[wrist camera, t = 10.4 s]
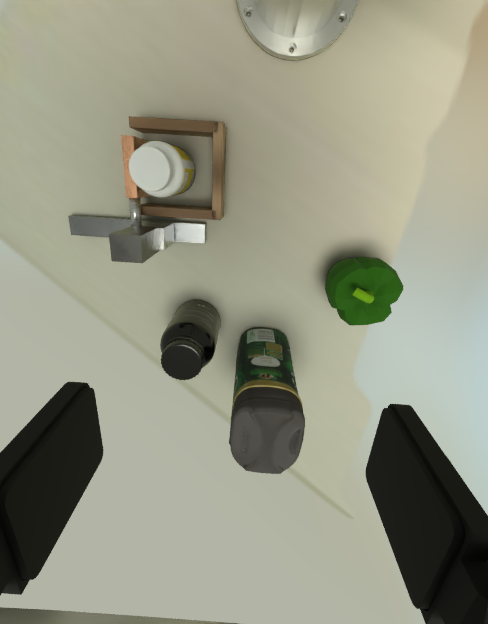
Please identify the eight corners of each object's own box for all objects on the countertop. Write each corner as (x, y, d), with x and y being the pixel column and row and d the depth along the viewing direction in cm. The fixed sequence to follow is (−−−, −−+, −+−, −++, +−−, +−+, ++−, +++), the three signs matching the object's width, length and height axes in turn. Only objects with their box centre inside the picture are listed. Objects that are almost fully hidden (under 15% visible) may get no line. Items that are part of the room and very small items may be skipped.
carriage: (139, 141, 37) (90, 124, 26) (174, 143, 37) (139, 127, 26) (146, 239, 42) (105, 260, 31) (176, 241, 42) (147, 263, 31)
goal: (141, 122, 37) (128, 116, 33) (226, 127, 37) (222, 122, 33) (146, 211, 41) (135, 214, 37) (223, 216, 41) (220, 220, 37)
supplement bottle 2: (212, 346, 48) (199, 396, 37) (169, 331, 48) (143, 377, 36) (228, 308, 46) (219, 349, 35) (183, 291, 45) (159, 327, 34)
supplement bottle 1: (146, 151, 38) (113, 142, 29) (189, 142, 38) (169, 130, 29) (159, 198, 40) (131, 203, 31) (200, 190, 40) (184, 193, 31)
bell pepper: (392, 281, 43) (429, 309, 34) (341, 316, 46) (363, 350, 36) (359, 233, 41) (390, 249, 32) (308, 272, 43) (322, 297, 34)
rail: (73, 214, 41) (68, 215, 40) (206, 223, 41) (204, 224, 40) (76, 233, 42) (71, 234, 41) (205, 241, 42) (204, 243, 41)
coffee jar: (284, 382, 50) (299, 486, 33) (235, 378, 50) (224, 479, 33) (293, 327, 47) (314, 413, 29) (239, 323, 47) (230, 406, 29)
